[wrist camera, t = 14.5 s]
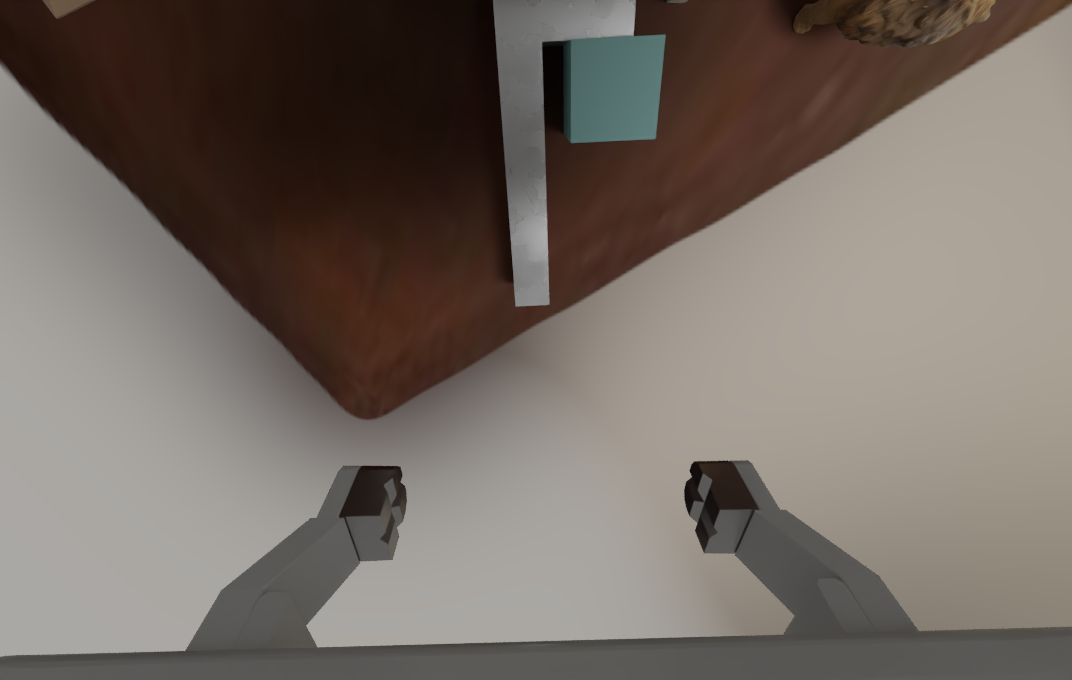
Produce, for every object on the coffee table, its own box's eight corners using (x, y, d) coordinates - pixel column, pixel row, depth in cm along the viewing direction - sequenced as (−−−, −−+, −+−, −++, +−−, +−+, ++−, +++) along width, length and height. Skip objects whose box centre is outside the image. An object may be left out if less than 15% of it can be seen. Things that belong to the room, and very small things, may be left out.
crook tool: (620, 2, 25) (636, -10, 22) (606, 279, 35) (616, 301, 31) (496, 8, 25) (492, -4, 22) (515, 284, 35) (515, 306, 31)
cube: (642, 42, 27) (665, 34, 22) (635, 130, 29) (655, 138, 25) (562, 46, 26) (571, 39, 22) (563, 134, 29) (570, 142, 25)
